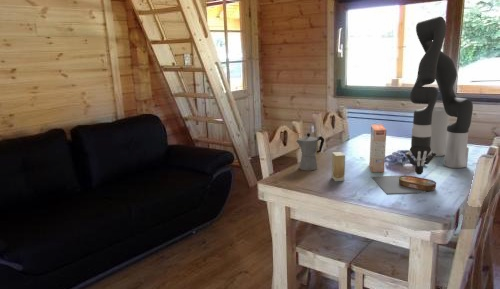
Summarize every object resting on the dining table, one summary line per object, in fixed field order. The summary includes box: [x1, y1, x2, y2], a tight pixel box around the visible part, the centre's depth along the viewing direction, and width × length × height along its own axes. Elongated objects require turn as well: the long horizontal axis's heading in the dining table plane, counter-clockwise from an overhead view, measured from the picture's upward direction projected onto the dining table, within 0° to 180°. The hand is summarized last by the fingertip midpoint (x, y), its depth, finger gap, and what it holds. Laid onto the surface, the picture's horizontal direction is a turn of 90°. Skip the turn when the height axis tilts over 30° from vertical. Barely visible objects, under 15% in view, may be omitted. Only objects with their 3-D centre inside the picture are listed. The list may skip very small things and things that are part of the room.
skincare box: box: [331, 151, 346, 182], centre depth 181 cm, size 6×4×12 cm
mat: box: [371, 174, 428, 195], centre depth 172 cm, size 16×22×1 cm
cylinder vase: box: [424, 106, 450, 157], centre depth 214 cm, size 12×12×25 cm
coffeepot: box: [296, 132, 325, 171], centre depth 199 cm, size 15×9×18 cm, turn 110°
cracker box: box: [369, 124, 387, 173], centre depth 193 cm, size 14×6×21 cm, turn 168°
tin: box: [399, 175, 437, 192], centre depth 168 cm, size 15×3×8 cm
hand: (418, 173), depth 170 cm, fingers closed
